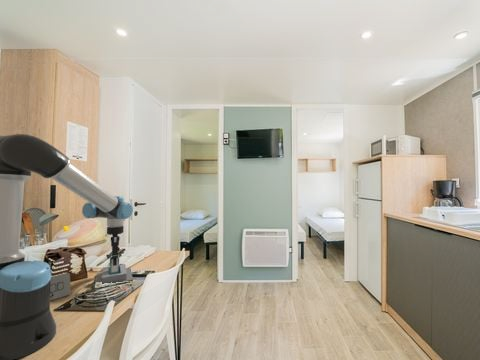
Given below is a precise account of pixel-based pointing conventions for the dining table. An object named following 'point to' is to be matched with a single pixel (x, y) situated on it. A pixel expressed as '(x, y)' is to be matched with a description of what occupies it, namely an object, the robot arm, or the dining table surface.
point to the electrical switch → (60, 286)
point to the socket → (114, 275)
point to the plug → (111, 266)
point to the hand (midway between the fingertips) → (114, 267)
